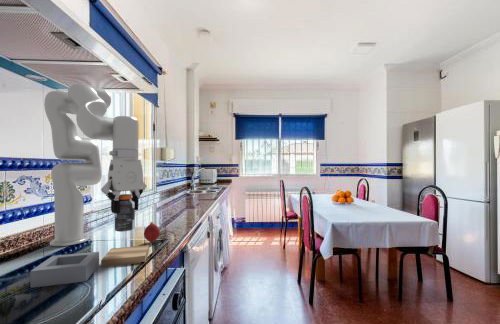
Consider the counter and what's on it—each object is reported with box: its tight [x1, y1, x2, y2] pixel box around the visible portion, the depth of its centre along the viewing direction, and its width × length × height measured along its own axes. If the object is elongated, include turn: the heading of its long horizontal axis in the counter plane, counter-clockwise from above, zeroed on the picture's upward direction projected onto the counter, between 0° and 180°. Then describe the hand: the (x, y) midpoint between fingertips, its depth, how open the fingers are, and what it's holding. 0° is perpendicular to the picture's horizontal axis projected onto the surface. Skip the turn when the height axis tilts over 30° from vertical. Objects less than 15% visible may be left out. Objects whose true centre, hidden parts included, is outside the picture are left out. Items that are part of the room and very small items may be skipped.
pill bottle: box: [114, 193, 136, 233], centre depth 87 cm, size 6×6×11 cm
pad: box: [100, 244, 150, 268], centre depth 86 cm, size 12×12×2 cm
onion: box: [143, 221, 161, 244], centre depth 104 cm, size 6×6×8 cm
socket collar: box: [29, 251, 100, 288], centre depth 73 cm, size 12×12×4 cm
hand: (125, 210), depth 86 cm, fingers closed on pill bottle, 6 cm apart
